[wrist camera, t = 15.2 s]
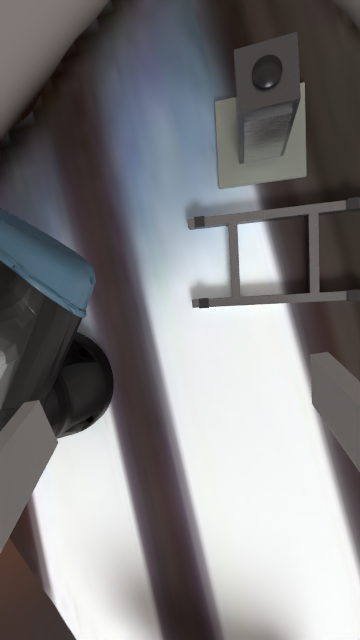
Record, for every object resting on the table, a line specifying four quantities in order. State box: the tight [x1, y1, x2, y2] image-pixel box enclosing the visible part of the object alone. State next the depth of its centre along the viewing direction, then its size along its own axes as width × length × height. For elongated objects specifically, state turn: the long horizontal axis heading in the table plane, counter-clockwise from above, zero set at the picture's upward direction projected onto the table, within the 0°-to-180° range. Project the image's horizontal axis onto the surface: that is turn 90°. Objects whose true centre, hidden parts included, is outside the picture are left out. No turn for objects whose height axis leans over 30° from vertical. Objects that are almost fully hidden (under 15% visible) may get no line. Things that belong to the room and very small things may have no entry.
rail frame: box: [188, 197, 360, 308], centre depth 33 cm, size 20×11×2 cm, turn 94°
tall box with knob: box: [234, 32, 301, 164], centre depth 28 cm, size 5×6×10 cm
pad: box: [215, 82, 306, 189], centre depth 33 cm, size 10×10×1 cm
